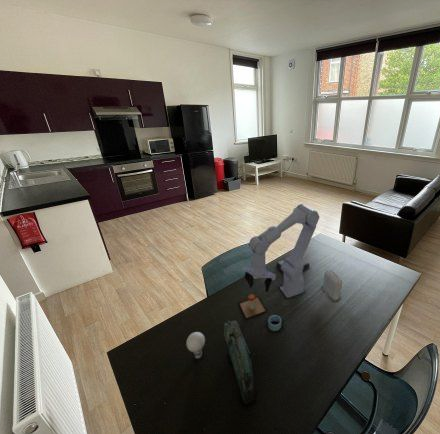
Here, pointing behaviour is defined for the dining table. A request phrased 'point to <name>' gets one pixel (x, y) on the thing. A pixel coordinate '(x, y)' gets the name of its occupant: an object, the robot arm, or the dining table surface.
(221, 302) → the dining table surface
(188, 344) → the lightbulb
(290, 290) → the robot arm
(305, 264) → the calculator
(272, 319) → the teal ring
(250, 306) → the marker
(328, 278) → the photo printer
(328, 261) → the dining table surface
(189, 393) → the dining table surface
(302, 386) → the dining table surface
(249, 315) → the coaster
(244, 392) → the dark teal slab
